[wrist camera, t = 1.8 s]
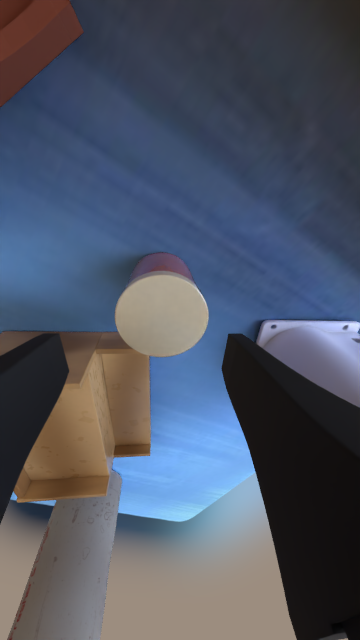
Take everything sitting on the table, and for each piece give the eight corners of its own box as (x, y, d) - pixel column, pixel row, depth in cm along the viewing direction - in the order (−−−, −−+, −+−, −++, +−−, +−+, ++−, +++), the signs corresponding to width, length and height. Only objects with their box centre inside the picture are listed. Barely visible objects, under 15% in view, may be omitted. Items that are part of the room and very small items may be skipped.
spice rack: (149, 331, 18) (145, 382, 13) (150, 434, 26) (148, 493, 20) (3, 330, 17) (-66, 386, 12) (48, 438, 24) (17, 502, 19)
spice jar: (196, 252, 15) (215, 276, 10) (190, 312, 18) (203, 357, 12) (127, 249, 15) (109, 273, 10) (131, 311, 17) (118, 358, 12)
